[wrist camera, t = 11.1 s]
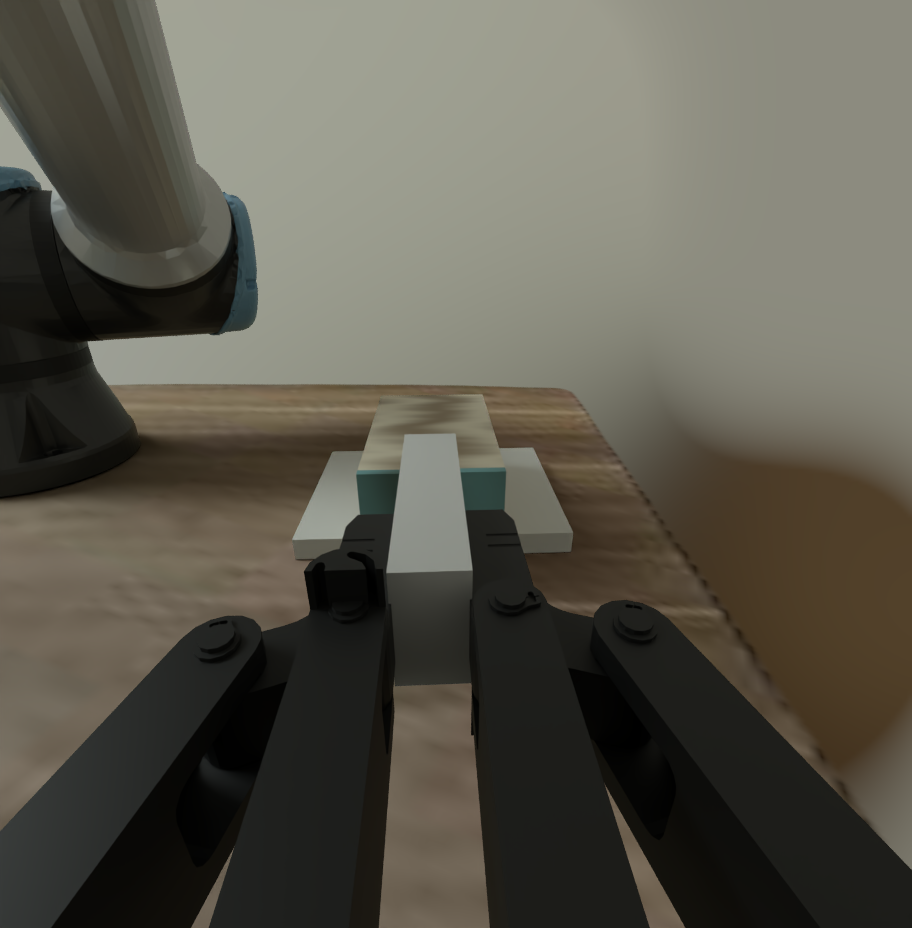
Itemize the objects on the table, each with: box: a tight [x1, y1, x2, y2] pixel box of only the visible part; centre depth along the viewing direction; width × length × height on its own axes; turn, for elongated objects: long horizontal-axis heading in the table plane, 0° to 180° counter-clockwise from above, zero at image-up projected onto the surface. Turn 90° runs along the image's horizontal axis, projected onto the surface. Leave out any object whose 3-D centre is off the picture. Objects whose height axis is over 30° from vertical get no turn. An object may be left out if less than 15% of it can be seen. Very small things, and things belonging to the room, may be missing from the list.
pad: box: [292, 448, 573, 559], centre depth 38 cm, size 18×14×2 cm
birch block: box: [356, 394, 506, 515], centre depth 34 cm, size 8×6×14 cm
